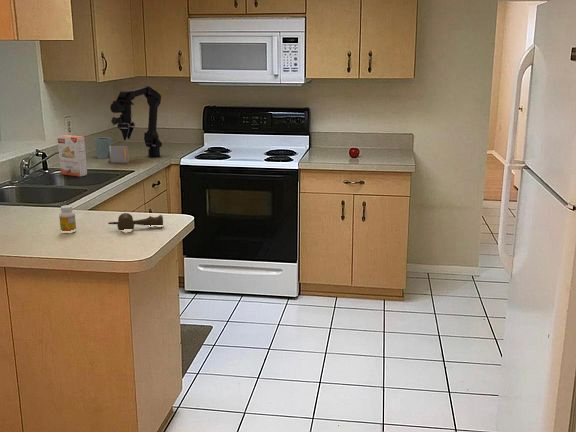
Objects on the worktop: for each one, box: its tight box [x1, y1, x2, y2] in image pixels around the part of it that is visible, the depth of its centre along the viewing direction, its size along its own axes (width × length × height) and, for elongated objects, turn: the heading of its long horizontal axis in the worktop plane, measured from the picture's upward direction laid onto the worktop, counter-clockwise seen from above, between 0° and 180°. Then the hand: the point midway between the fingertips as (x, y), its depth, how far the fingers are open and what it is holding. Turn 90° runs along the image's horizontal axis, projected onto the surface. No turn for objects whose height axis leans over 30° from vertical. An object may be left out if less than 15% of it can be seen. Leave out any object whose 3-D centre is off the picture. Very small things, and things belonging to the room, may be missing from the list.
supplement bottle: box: [58, 204, 77, 231], centre depth 230 cm, size 5×5×10 cm
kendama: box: [107, 212, 164, 231], centre depth 235 cm, size 6×10×20 cm
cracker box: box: [57, 134, 88, 178], centre depth 335 cm, size 14×6×21 cm, turn 62°
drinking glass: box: [93, 136, 112, 160], centre depth 391 cm, size 10×10×12 cm
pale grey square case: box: [110, 145, 129, 164], centre depth 372 cm, size 10×2×10 cm, turn 91°
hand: (126, 139), depth 372 cm, fingers open, 9 cm apart
